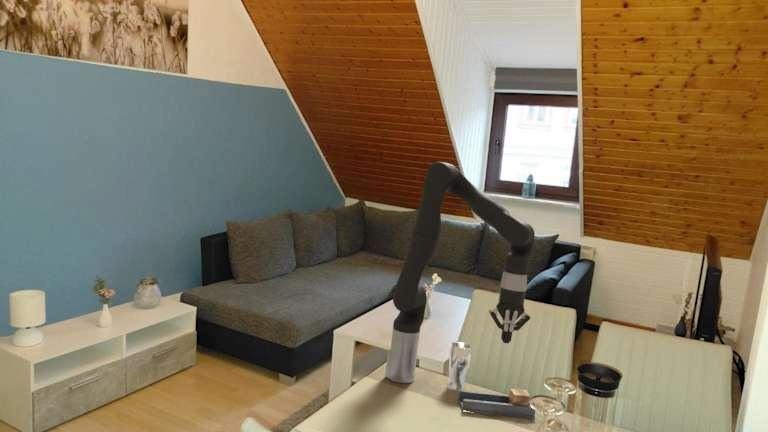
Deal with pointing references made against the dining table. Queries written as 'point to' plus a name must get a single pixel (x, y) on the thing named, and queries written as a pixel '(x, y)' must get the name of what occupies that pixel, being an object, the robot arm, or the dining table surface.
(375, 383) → the dining table surface
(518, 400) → the oak block
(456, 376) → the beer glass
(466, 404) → the chute
